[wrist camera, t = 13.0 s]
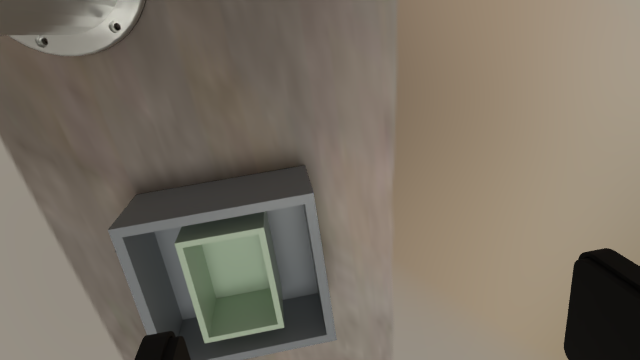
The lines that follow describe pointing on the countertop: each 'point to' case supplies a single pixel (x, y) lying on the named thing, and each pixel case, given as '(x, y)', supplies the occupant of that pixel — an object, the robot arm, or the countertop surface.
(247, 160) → the countertop surface
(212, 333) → the small crate
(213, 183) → the big crate
